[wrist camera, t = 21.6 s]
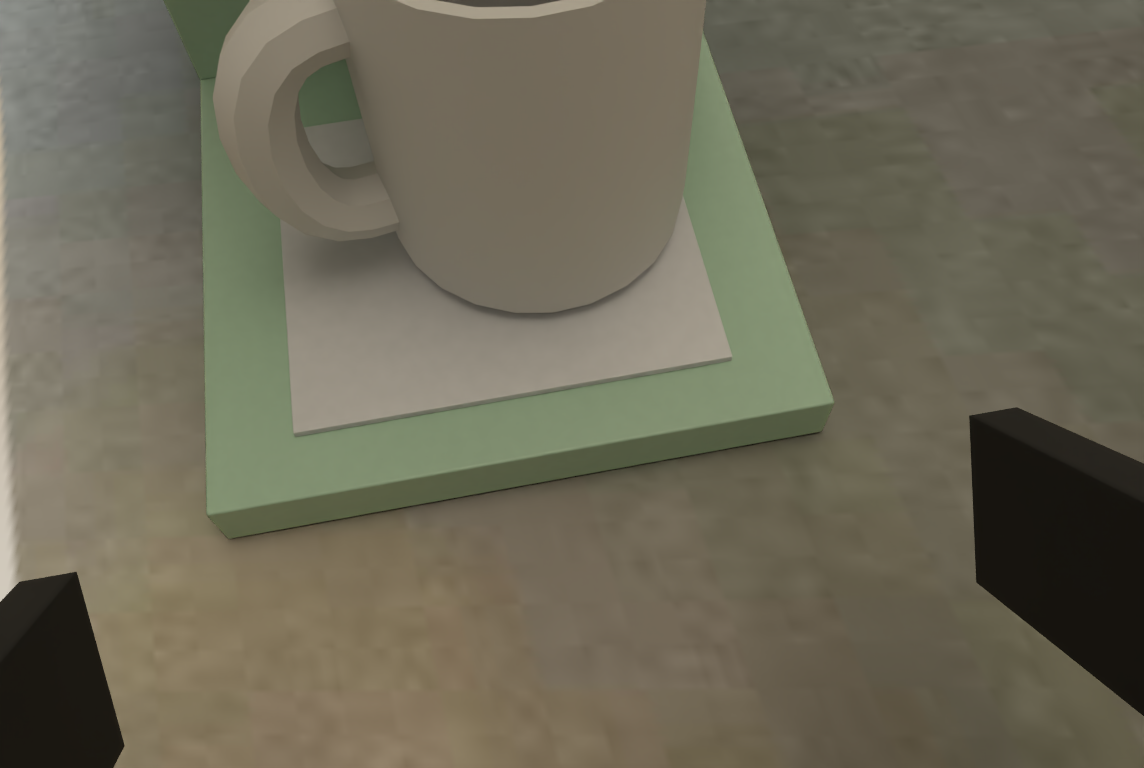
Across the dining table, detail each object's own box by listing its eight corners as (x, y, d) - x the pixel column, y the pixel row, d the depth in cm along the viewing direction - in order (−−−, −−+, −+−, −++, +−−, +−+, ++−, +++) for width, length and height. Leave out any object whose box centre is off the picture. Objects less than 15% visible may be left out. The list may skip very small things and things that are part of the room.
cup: (732, 263, 24) (796, -57, 17) (330, 409, 23) (191, 130, 15) (610, 64, 28) (617, -283, 20) (252, 178, 26) (103, -151, 18)
